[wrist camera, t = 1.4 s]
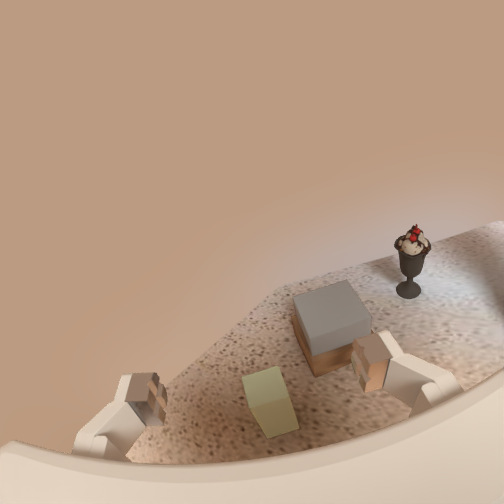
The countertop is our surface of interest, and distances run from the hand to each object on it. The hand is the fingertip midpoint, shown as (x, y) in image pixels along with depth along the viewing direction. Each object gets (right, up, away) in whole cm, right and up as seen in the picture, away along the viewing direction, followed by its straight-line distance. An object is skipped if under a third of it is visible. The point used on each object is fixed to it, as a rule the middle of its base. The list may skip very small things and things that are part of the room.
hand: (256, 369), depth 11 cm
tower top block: (+12, -6, +31) cm, 34 cm away
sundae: (+29, -3, +38) cm, 48 cm away
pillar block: (+4, -18, +24) cm, 30 cm away
